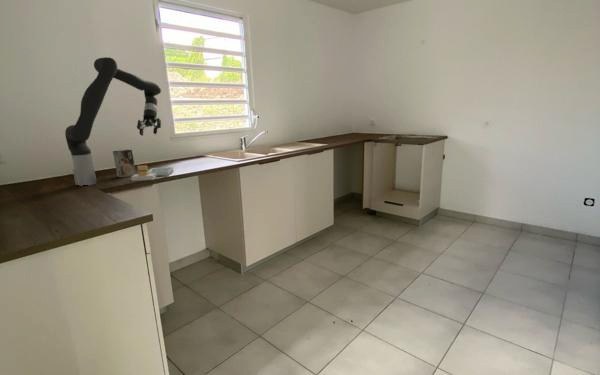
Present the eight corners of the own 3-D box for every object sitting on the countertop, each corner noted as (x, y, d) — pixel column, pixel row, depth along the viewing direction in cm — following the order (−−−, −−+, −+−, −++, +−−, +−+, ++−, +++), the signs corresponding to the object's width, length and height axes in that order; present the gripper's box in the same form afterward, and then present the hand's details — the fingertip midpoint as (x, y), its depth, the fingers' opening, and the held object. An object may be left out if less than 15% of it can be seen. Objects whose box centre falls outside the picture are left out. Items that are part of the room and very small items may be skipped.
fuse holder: (131, 180, 190) (130, 176, 189) (135, 178, 196) (135, 174, 196) (152, 179, 191) (152, 175, 190) (156, 177, 198) (155, 173, 197)
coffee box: (131, 173, 211) (127, 149, 207) (136, 174, 207) (132, 149, 203) (116, 176, 204) (112, 151, 200) (121, 177, 200) (117, 151, 196)
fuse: (139, 179, 193) (137, 166, 191) (140, 179, 194) (138, 165, 192) (148, 179, 193) (146, 166, 191) (149, 178, 195) (147, 165, 193)
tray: (146, 177, 199) (145, 172, 198) (152, 172, 211) (152, 168, 211) (168, 175, 200) (167, 171, 200) (173, 171, 213) (173, 167, 212)
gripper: (136, 109, 204) (133, 132, 198) (158, 107, 203) (156, 130, 198) (142, 116, 211) (140, 138, 205) (164, 114, 210) (162, 136, 205)
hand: (148, 134), depth 201 cm, fingers open, 8 cm apart
